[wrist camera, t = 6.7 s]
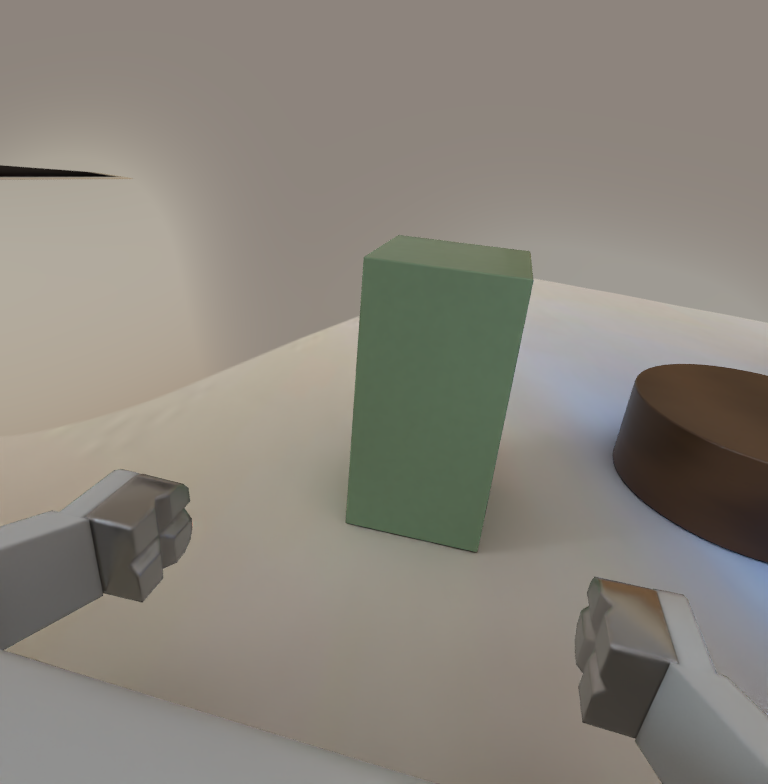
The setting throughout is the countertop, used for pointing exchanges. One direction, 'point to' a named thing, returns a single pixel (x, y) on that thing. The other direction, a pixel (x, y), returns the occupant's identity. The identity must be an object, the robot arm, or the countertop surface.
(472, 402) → the block
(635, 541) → the countertop surface
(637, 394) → the cylinder
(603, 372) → the countertop surface
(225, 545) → the countertop surface
